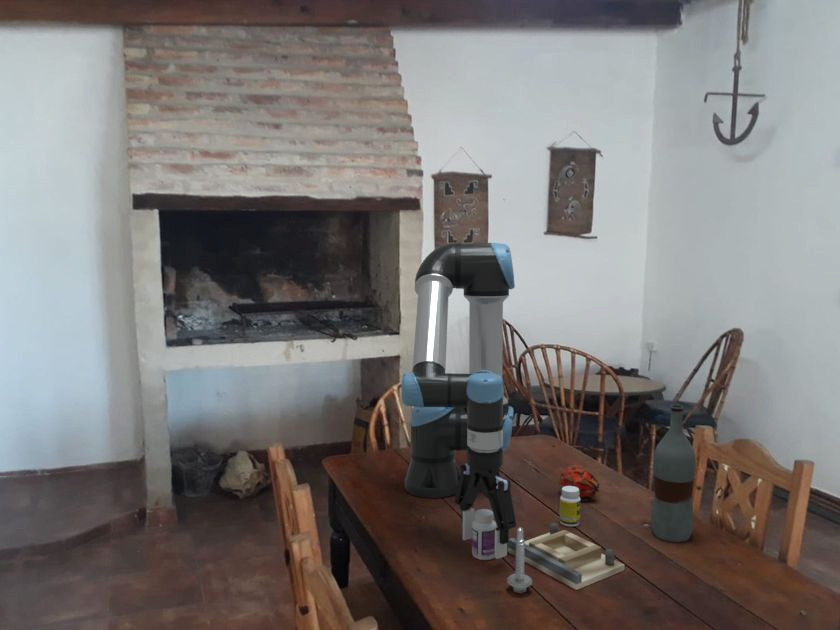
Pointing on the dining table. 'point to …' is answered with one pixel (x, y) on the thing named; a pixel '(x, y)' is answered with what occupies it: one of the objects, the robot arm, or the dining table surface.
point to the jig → (568, 558)
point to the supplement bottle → (570, 506)
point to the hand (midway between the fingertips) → (484, 547)
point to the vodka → (673, 483)
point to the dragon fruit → (580, 481)
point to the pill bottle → (483, 535)
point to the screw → (519, 566)
